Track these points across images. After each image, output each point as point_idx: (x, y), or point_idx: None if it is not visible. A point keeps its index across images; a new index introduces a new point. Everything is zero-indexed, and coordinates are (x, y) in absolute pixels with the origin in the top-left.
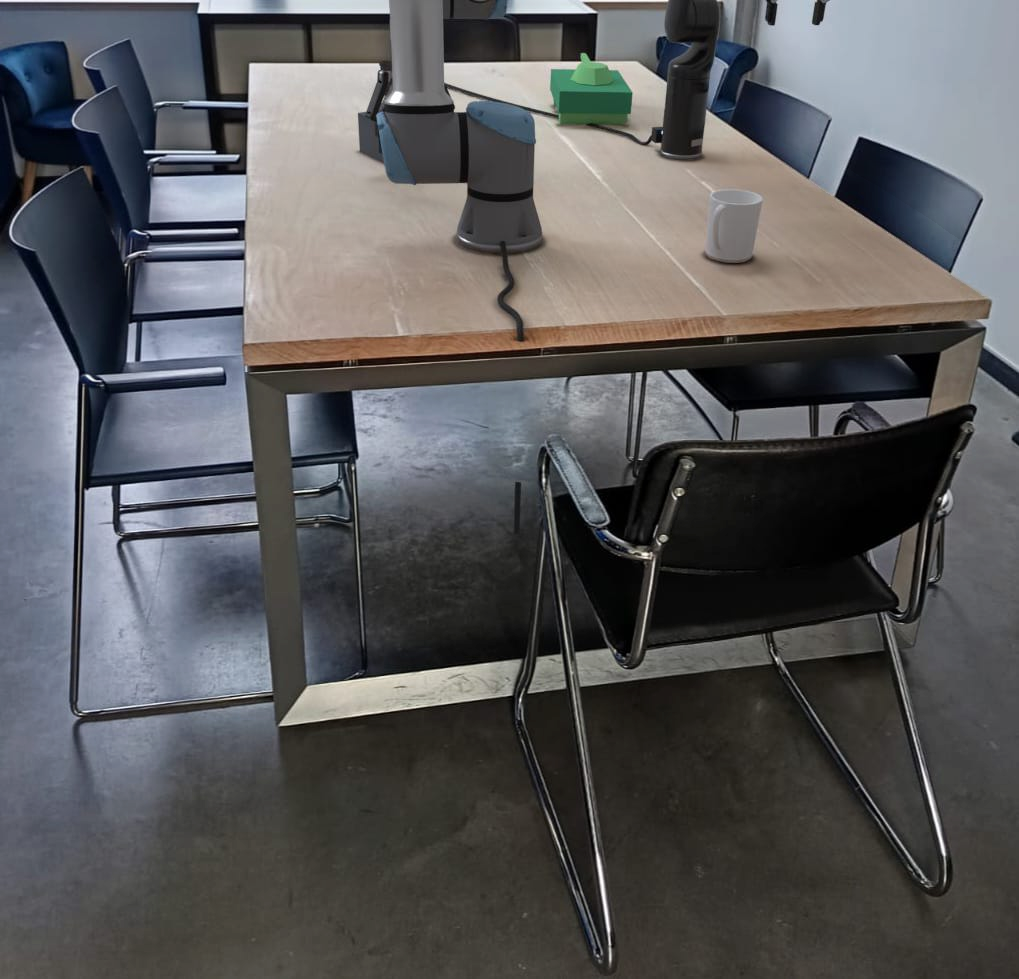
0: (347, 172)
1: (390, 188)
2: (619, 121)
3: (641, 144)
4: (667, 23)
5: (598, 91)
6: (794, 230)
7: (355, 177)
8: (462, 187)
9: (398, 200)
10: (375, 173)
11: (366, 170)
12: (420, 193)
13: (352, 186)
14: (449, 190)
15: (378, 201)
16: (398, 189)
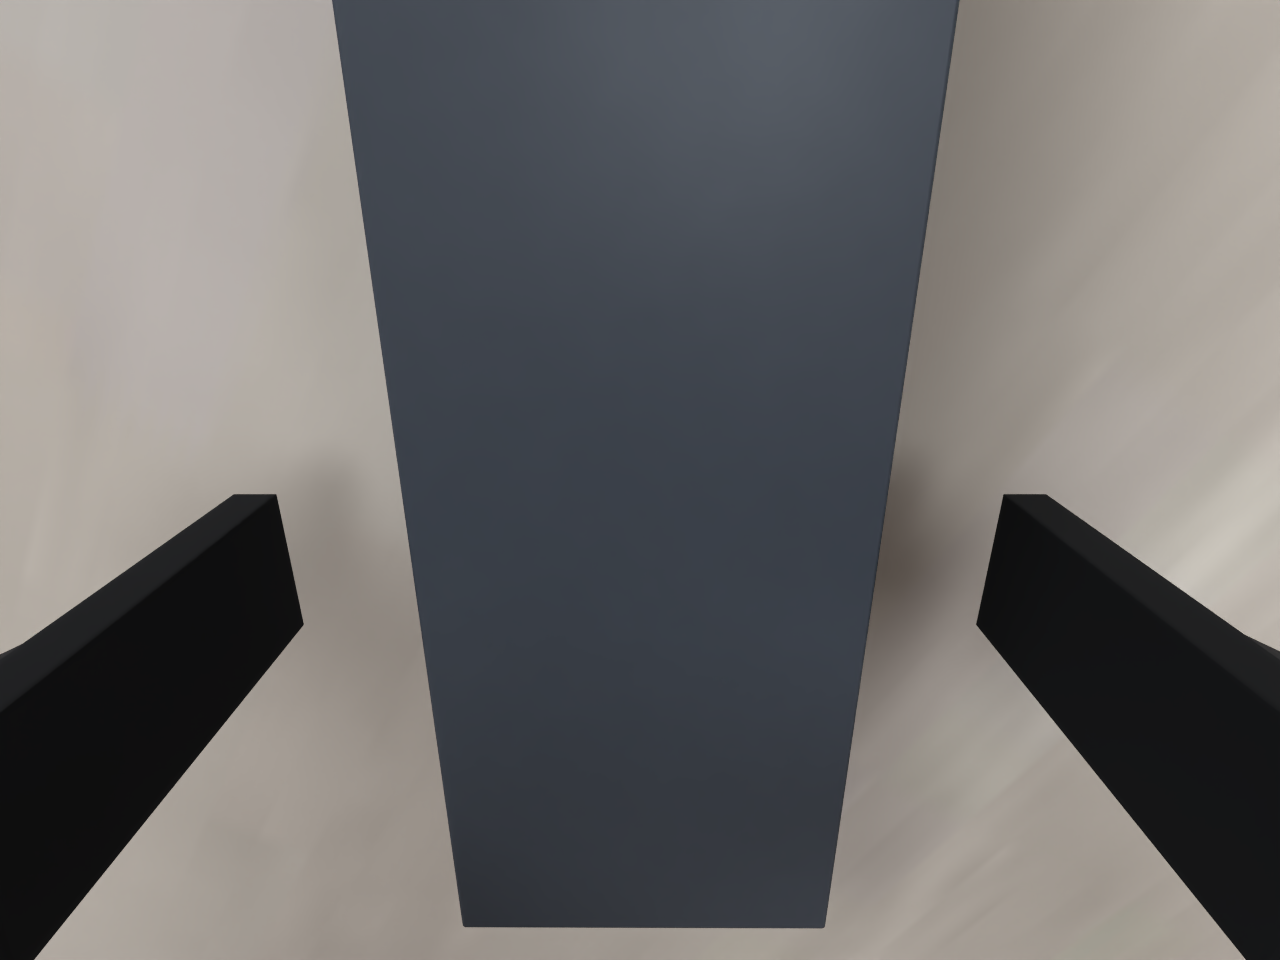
0: (43, 239)
1: (276, 774)
2: None
3: None
4: None
5: None
6: None
7: (87, 427)
8: (709, 934)
9: (244, 954)
10: (296, 406)
11: (245, 272)
12: (419, 917)
13: (15, 624)
14: (606, 943)
15: (123, 924)
16: (320, 810)
